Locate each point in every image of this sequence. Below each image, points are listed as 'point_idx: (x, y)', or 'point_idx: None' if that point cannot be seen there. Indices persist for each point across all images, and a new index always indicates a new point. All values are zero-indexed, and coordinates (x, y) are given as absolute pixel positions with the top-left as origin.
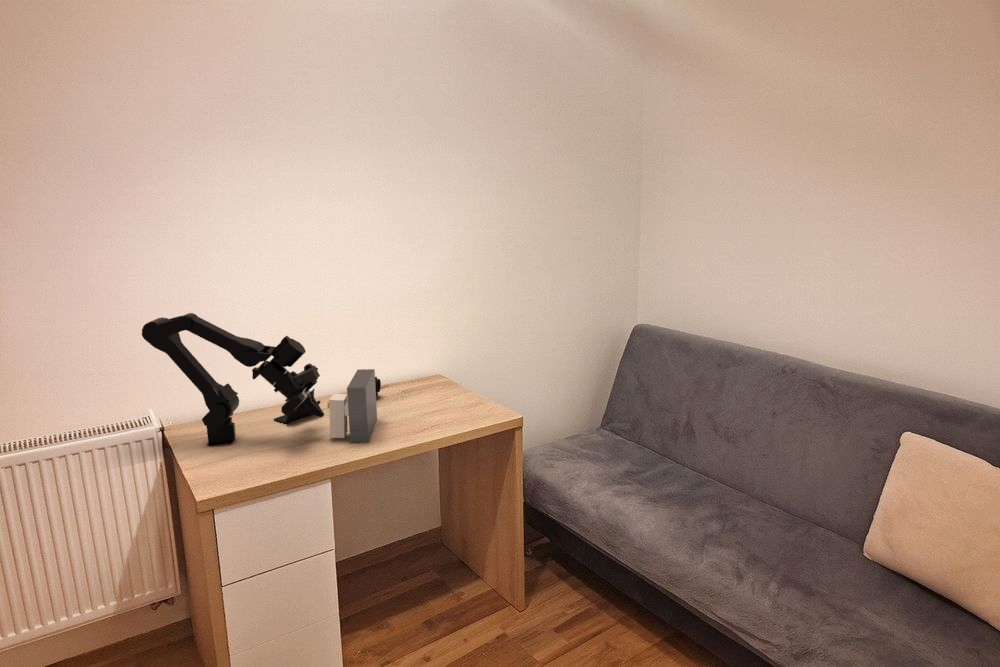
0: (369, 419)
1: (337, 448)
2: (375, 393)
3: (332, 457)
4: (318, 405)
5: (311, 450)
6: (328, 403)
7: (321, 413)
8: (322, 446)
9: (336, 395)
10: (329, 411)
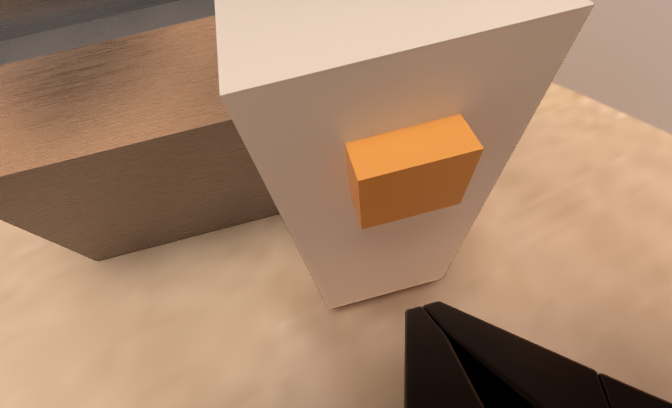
0: None
1: (501, 207)
2: None
3: (612, 180)
4: (432, 393)
5: (604, 340)
6: (472, 143)
7: (462, 317)
8: (514, 299)
9: (289, 25)
10: (503, 165)
